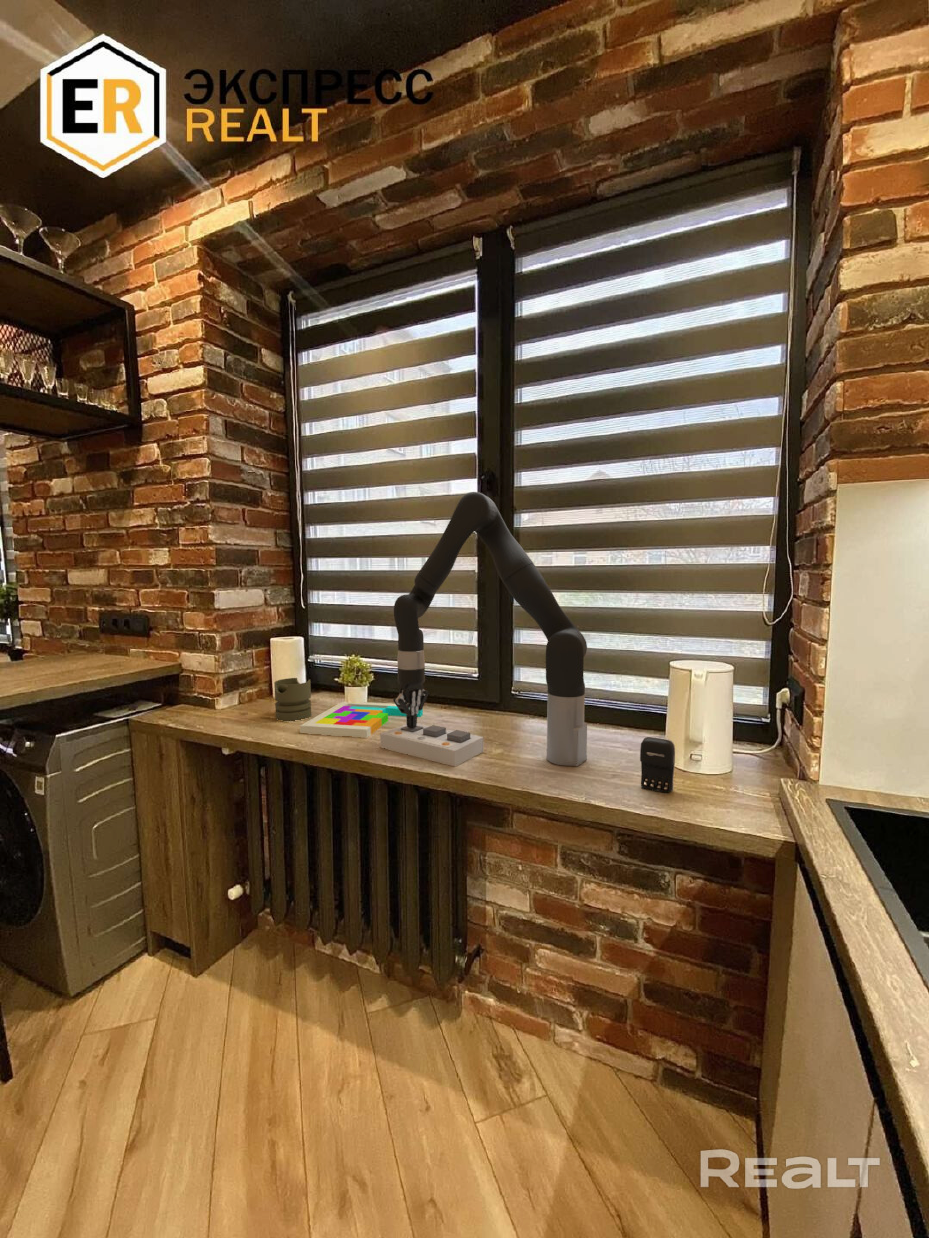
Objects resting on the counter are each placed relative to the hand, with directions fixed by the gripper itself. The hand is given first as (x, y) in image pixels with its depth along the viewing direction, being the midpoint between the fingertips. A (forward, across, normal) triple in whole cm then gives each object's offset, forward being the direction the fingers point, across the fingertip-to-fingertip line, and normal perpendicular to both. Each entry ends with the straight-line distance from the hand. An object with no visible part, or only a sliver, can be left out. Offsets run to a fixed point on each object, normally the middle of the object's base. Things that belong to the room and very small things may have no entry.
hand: (411, 727), depth 146 cm
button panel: (+4, -2, -8) cm, 9 cm away
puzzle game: (+5, +8, +25) cm, 27 cm away
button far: (+3, 0, 0) cm, 3 cm away
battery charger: (+5, +6, -65) cm, 65 cm away
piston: (+5, -2, +50) cm, 50 cm away
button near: (+2, 0, -16) cm, 16 cm away
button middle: (+2, 0, -8) cm, 8 cm away
